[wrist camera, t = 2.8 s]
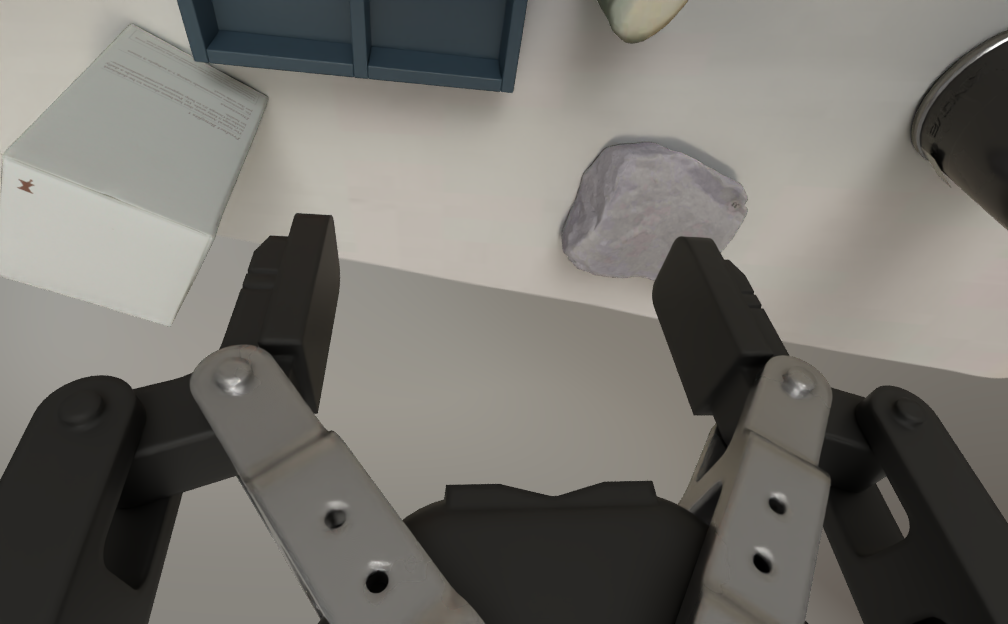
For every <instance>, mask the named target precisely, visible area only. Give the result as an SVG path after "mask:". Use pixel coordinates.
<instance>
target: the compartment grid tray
mask: <svg viewBox="0 0 1008 624" xmlns="http://www.w3.org/2000/svg"><path fill="white" fill-rule="evenodd" d="M177 2H178V6H179V9H180V13H181V16H182V20H183V23H184V27H185V30H186V34H187V37H188V41H189V44H190V48H191V51H192V55H193V58H194V61H195V62H204V63H209V62H210V63H214V64H224V65H234V66H244V67H254V68H264V69H275V70H285V71H295V72H305V73H315V74H325V75H335V76H345V77H355V78H363V79H368V78H369V79H374V80H384V81H394V82H405V83H415V84H425V85H435V86H445V87H455V88H465V89H475V90H486V91H496V92H500V91H501V92H508V93H513V91H514V84H515V78H516V72H517V65H518V59H519V53H520V46H521V40H522V33H523V27H524V21H525V14H526V8H527V2H528V0H177Z"/></svg>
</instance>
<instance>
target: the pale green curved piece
mask: <svg viewBox="0 0 1008 624" xmlns="http://www.w3.org/2000/svg"><path fill="white" fill-rule="evenodd" d="M597 1H598V3H599V5H600V7H601V9H602V10H603V12H604V13H605V15H606V17H607V19H608V21H609V24H610V26H611V29H612V31H613V32H614V33H615V34H616V35H617V36H618V37H619V38H620V39H621V40H623V41H624V42H626V43H638V42H641V41H644V40H646V39H648V38H649V37H651V36H653V35H654V34H656V33H657V32H658V31H660V30H661V29H663V28H664V27H665V26H666V25H667V24H668V23H669V22H670V21H671V20H672V19H673V18H674V17H675V16H676V14H677V13H678V12H679V11H680V10H681V9H682V8H683V7H684V5H685V4H686V3H687V1H688V0H597Z"/></svg>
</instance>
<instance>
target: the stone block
mask: <svg viewBox="0 0 1008 624" xmlns="http://www.w3.org/2000/svg"><path fill="white" fill-rule="evenodd" d="M747 200H748V196H747V194H746V192H745V190H744V188H743V186H742V185H741V184H740V183H738V182H737V181H734V180H732V179H731V178H729V177H726V176H724V175H722V174H720V173H718V172H717V171H716V170H715V169H711V168H709V167H707V166H705V165H704V164H702V163H701V162H700V161H699V160H697V159H694V158H692V157H690V156H688V155H686V154H684V153H682V152H676V151H671V150H669V149H668V148H666V147H662V146H660V145H659V144H657V143H653V142H641V143H635V144H620V145H615V146H610V147H607V148H605V149H604V150H603V151H602V152H601V154H600V155H599V156H598V158H597V159H596V160H595V161H594V163H593V164H592V165H591V166H590V167H589V168H588V169H587V170H586V171H585V172H584V174H583V177H582V180H581V185H580V188H579V190H578V194H577V197H576V200H575V202H574V205H573V206H572V208H571V210H570V213H569V216H568V218H567V221H566V223H565V226H564V229H563V230H562V247H563V252H564V253H565V254H566V255H567V256H568V259H569V260H570V261H571V262H572V263H573V264H574V265H575V266H576V267H577V268H578V269H581V270H583V271H587V272H590V273H592V274H594V275H601V276H609V277H618V278H628V277H645V278H648V279H651V280H655V279H656V277H657V275H658V273H659V271H660V269H661V267H662V265H663V263H664V261H665V259H666V257H667V255H668V253H669V251H670V248H671V246H672V244H673V243H674V241H675V240H676V239H677V238H678V237H680V236H685V237H703V238H711V239H712V240H713V241H714V242H715V244H716V246H717V247H718V249H719V251H720V253H721V252H722V251H723V250H724V249H725V248H726V246H727V245H728V244H729V243H730V241H731V240H732V239H733V238H734V236H735V234H736V232H737V231H738V229H739V227H740V225H741V224H742V222H743V220H744V218H745V217H746V215H747V212H748V209H747V207H746V206H745V203H746V202H747Z"/></svg>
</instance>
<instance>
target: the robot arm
mask: <svg viewBox="0 0 1008 624" xmlns="http://www.w3.org/2000/svg"><path fill="white" fill-rule="evenodd" d="M911 138H912V143H913V146H914V148H915V149H916V151H917V152H918V153H919V154H920V155H922V156H923V157H924V158H925V159H926V160H928V161H929V162H930V163H931V165H932V166H933V168H934V169H935V171H936V173H937V174H938V176H939V177H940V178H941V179H942V180H943V181H944V182H945V183H946V184H948V185H949V183H948V181H947V180H946V178H945V176H944V175H943V173H945V174H946V175H947V176H948V177H949V178H950V179H951V180H952V181H953V182H954V183H955V184H956V185H957V186H958V187H960V188H961V189H962V190H963V191H964V192H965V193H966V194H967V195H968V196H970V197H971V198H972V199H973V200H974V201H975V202H976V203H977V204H979V205H980V206H981V207H982V208H983V209H984V210H985V211H986V212H988V213H989V214H990V215H991V216H992V217H993V218H994V219H995V220H996V221H998V222H999V223H1000V224H1001V225H1002V226H1003V227H1004V228H1005V229H1007V230H1008V30H1007V31H1005V32H1002V33H1000V34H998V35H996V36H994V37H992V38H991V39H989V40H987V41H985V42H984V43H982V44H980V45H979V46H978V47H976V48H975V49H973V50H972V51H970V52H969V53H968V54H966V55H965V56H964V57H962V58H961V59H960V60H959V61H957V62H956V63H955V64H954V65H953V66H952V67H951V68H950V69H949V70H948V71H947V72H946V73H945V74H944V75H943V76H942V77H941V78H940V79H939V80H938V81H937V82H936V83H935V85H934V86H933V87H932V88H931V90H930V91H929V92H928V94H927V95H926V96H925V98H924V100H923V101H922V103H921V105H920V107H919V108H918V110H917V113H916V115H915V118H914V121H913V124H912V130H911ZM942 172H943V173H942ZM949 186H950V185H949ZM950 187H951V186H950ZM339 287H340V267H339V258H338V250H337V242H336V234H335V227H334V220H333V217H332V215H319V214H301V213H296V214H295V216H294V219H293V222H292V226H291V229H290V233H289V236H288V237H287V236H269V237H268V238H267V239H266V240H265V241H264V242H263V243H262V244H261V245H260V246H259V247H258V248H257V249H256V250H255V251H254V253H253V256H252V259H251V262H250V265H249V268H248V274H246V276H245V279H244V282H243V288H242V289H241V291H240V293H239V296H238V299H237V302H236V305H235V308H234V311H233V313H232V316H231V319H230V322H229V325H228V328H227V331H226V333H225V337H224V339H223V342H222V344H221V347H220V349H219V350H217V351H215V352H213V353H212V354H210V355H208V356H207V357H206V358H205V359H203V360H202V361H201V362H200V363H199V364H198V366H197V367H196V368H195V370H194V372H192V373H191V374H188V375H186V376H184V377H180V378H177V379H174V380H170V381H166V382H161V383H157V384H153V385H149V386H145V387H141V388H137V389H132V388H131V386H130V385H129V384H128V383H126V382H125V381H123V380H122V379H119V378H116V377H112V376H103V375H100V376H90V377H85V378H81V379H78V380H75V381H73V382H70V383H68V384H66V385H64V386H62V387H60V388H59V389H57V390H56V391H54V392H53V393H51V394H50V395H49V396H48V397H47V398H46V399H45V400H43V402H42V403H41V404H40V405H39V406H38V408H37V409H36V411H35V413H34V414H33V416H32V418H31V420H30V422H29V424H28V426H27V428H26V430H25V432H24V434H23V436H22V438H21V440H20V442H19V444H18V446H17V448H16V450H15V452H14V454H13V456H12V458H11V460H10V462H9V464H8V466H7V468H6V470H5V472H4V474H3V476H2V478H1V479H0V624H148V622H149V618H150V614H151V610H152V607H153V603H154V599H155V595H156V592H157V588H158V584H159V580H160V576H161V573H162V569H163V565H164V561H165V558H166V554H167V550H168V546H169V542H170V538H171V535H172V531H173V527H174V523H175V520H176V516H177V512H178V508H179V505H180V501H181V497H182V493H183V492H185V491H189V490H192V489H195V488H198V487H201V486H205V485H208V484H211V483H214V482H218V481H221V480H224V479H227V478H230V477H234V476H236V477H237V478H238V480H239V482H240V483H241V485H242V487H243V488H244V490H245V492H246V493H247V495H248V497H249V499H250V500H251V502H252V504H253V505H254V507H255V509H256V510H257V512H258V514H259V515H260V517H261V519H262V521H263V522H264V524H265V526H266V527H267V529H268V530H269V532H270V534H271V536H272V538H273V539H274V541H275V543H276V544H277V546H278V548H279V549H280V551H281V553H282V555H283V557H284V558H285V560H286V562H287V564H288V566H289V567H290V569H291V571H292V572H293V574H294V576H295V578H296V579H297V581H298V582H299V584H300V586H301V588H302V589H303V591H304V593H305V595H306V596H307V598H308V599H309V601H310V603H311V605H312V606H313V608H314V610H315V611H316V613H317V615H318V616H319V618H320V621H319V623H318V624H808V623H807V622H806V621H805V617H806V612H807V607H808V602H809V596H810V591H811V586H812V581H813V575H814V570H815V565H816V559H817V554H818V549H819V544H820V538H821V533H822V528H824V530H825V533H826V535H827V537H828V540H829V542H830V544H831V547H832V549H833V552H834V554H835V556H836V559H837V561H838V563H839V566H840V568H841V571H842V573H843V575H844V578H845V580H846V583H847V585H848V587H849V590H850V592H851V594H852V597H853V599H854V601H855V604H856V606H857V608H858V611H859V613H860V616H861V618H862V620H863V623H864V624H1008V523H1007V522H1006V520H1005V519H1004V517H1003V515H1002V514H1001V512H1000V511H999V509H998V508H997V506H996V505H995V503H994V502H993V500H992V499H991V497H990V496H989V494H988V493H987V491H986V489H985V488H984V486H983V485H982V483H981V482H980V480H979V479H978V477H977V476H976V474H975V473H974V471H973V470H972V469H971V467H970V465H969V464H968V462H967V460H966V459H965V458H964V456H963V454H962V453H961V452H960V450H959V448H958V447H957V445H956V444H955V442H954V441H953V439H952V438H951V436H950V435H949V433H948V432H947V430H946V429H945V427H944V425H943V424H942V422H941V421H940V419H939V418H938V417H937V415H936V414H935V412H934V411H933V410H932V409H931V408H930V407H929V406H928V405H927V404H926V403H925V402H924V401H923V400H922V399H920V398H919V397H917V396H916V395H914V394H912V393H911V392H909V391H907V390H904V389H902V388H899V387H895V386H880V387H878V388H876V389H875V390H874V391H873V392H872V393H871V394H869V395H868V396H867V397H866V398H865V397H861V396H858V395H855V394H851V393H848V392H844V391H841V390H838V389H834V388H831V387H830V385H829V383H828V381H827V380H826V379H825V377H824V376H823V375H822V374H821V373H820V372H819V371H818V370H817V369H816V368H815V367H813V366H812V365H810V364H808V363H807V362H805V361H803V360H801V359H798V358H795V357H791V356H789V354H788V352H787V350H786V349H785V347H784V345H783V343H782V341H781V339H780V338H779V336H778V334H777V332H776V330H775V329H774V327H773V325H772V323H771V321H770V320H769V318H768V316H767V314H766V312H765V310H764V309H761V303H760V301H759V300H758V298H757V296H756V295H754V291H753V289H752V287H751V285H750V283H749V281H748V280H747V278H746V276H745V275H744V274H743V273H742V272H741V271H740V270H739V269H738V268H737V267H736V266H735V265H734V264H733V263H732V262H731V261H730V260H724V259H723V257H722V255H721V253H720V251H719V249H718V247H717V246H716V244H715V242H714V241H713V240H712V239H711V238H703V237H685V236H680V237H678V238H677V239H676V240H675V241H674V243H673V244H672V246H671V248H670V251H669V253H668V255H667V257H666V259H665V261H664V263H663V265H662V267H661V269H660V271H659V273H658V275H657V277H656V279H655V282H654V285H653V291H652V300H653V305H654V308H655V311H656V314H657V316H658V319H659V322H660V324H661V327H662V330H663V332H664V335H665V338H666V341H667V344H668V346H669V349H670V352H671V354H672V357H673V360H674V363H675V365H676V368H677V371H678V374H679V376H680V379H681V382H682V384H683V387H684V390H685V392H686V395H687V398H688V401H689V404H690V406H691V409H692V412H693V414H694V415H713V416H714V419H715V421H716V424H715V425H714V426H713V428H712V429H711V431H710V433H709V435H708V438H707V440H706V443H705V445H704V448H703V450H702V453H701V455H700V458H699V460H698V463H697V465H696V467H695V470H694V472H693V475H692V477H691V480H690V482H689V485H688V487H687V489H686V491H685V493H684V495H683V497H682V498H681V500H680V501H679V503H678V504H675V503H673V502H671V501H668V500H665V499H663V498H660V497H657V496H656V492H655V489H654V485H653V482H652V481H620V482H602V483H599V484H595V485H592V486H589V487H586V488H582V489H579V490H576V491H573V492H569V493H566V494H563V495H559V496H548V495H544V494H540V493H536V492H531V491H527V490H523V489H518V488H514V487H510V486H506V485H502V484H471V485H446V490H445V497H444V500H441V501H438V502H434V503H432V504H429V505H427V506H425V507H423V508H421V509H419V510H417V511H415V512H414V513H412V514H410V515H409V516H407V517H406V518H405V519H403V520H402V519H401V518H400V517H399V515H398V514H397V512H396V511H395V510H394V508H393V507H392V506H391V504H390V503H389V502H388V500H387V499H386V498H385V496H384V495H383V494H382V492H381V491H380V489H379V488H378V487H377V486H376V484H375V483H374V481H373V480H372V479H371V477H370V476H369V475H368V473H367V472H366V471H365V469H364V468H363V466H362V465H361V464H360V462H359V461H358V460H357V458H356V457H355V456H354V455H353V453H352V452H351V451H350V449H349V448H348V446H347V445H346V444H345V442H344V441H343V440H342V439H341V437H340V436H339V435H338V434H337V433H336V432H334V431H327V430H326V429H325V428H324V427H323V425H322V424H321V423H320V421H319V420H318V418H317V417H316V416H315V414H317V413H318V408H319V403H320V398H321V392H322V386H323V381H324V375H325V368H326V363H327V358H328V352H329V346H330V340H331V335H332V329H333V324H334V318H335V312H336V307H337V301H338V295H339ZM886 476H887V478H888V479H889V481H890V483H891V485H892V487H893V489H894V491H895V493H896V495H897V496H898V498H899V500H900V502H901V504H902V506H903V507H904V509H905V511H906V513H907V515H908V518H909V523H910V529H909V533H908V535H907V537H906V538H905V539H904V537H903V535H902V533H901V531H900V529H899V527H898V525H897V523H896V521H895V520H894V518H893V516H892V514H891V512H890V510H889V508H888V506H887V504H886V502H885V500H884V498H883V496H882V495H881V492H880V490H879V489H878V487H877V485H876V483H877V482H878V481H880V480H881V479H883V478H884V477H886Z"/></svg>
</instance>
